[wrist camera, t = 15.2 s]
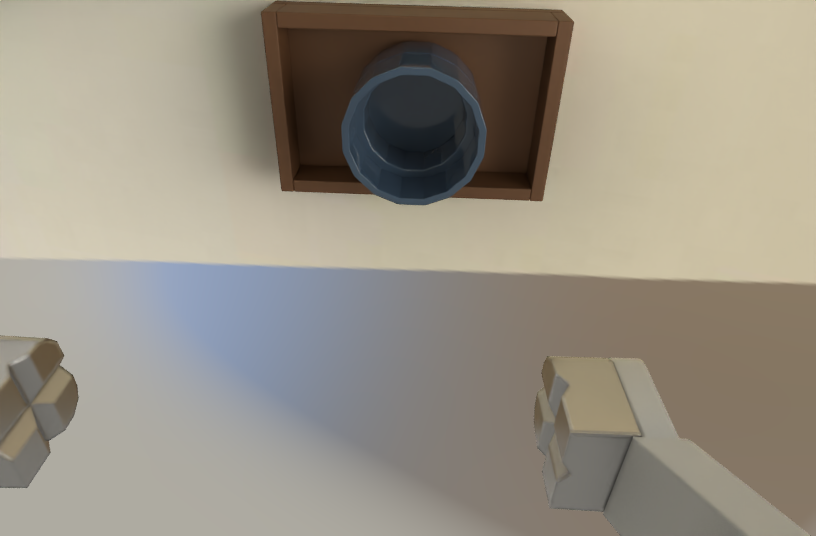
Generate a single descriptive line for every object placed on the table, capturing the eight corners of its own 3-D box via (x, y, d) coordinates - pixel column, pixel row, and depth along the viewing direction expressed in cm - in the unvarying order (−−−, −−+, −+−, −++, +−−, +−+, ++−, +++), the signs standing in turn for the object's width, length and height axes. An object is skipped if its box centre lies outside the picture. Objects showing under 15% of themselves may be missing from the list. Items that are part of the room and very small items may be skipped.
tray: (291, 169, 28) (281, 191, 26) (274, 0, 24) (260, 11, 22) (535, 179, 28) (542, 201, 26) (562, 10, 24) (574, 21, 22)
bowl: (357, 159, 27) (344, 202, 24) (353, 36, 24) (338, 64, 20) (473, 163, 27) (478, 207, 23) (484, 40, 24) (493, 69, 20)
